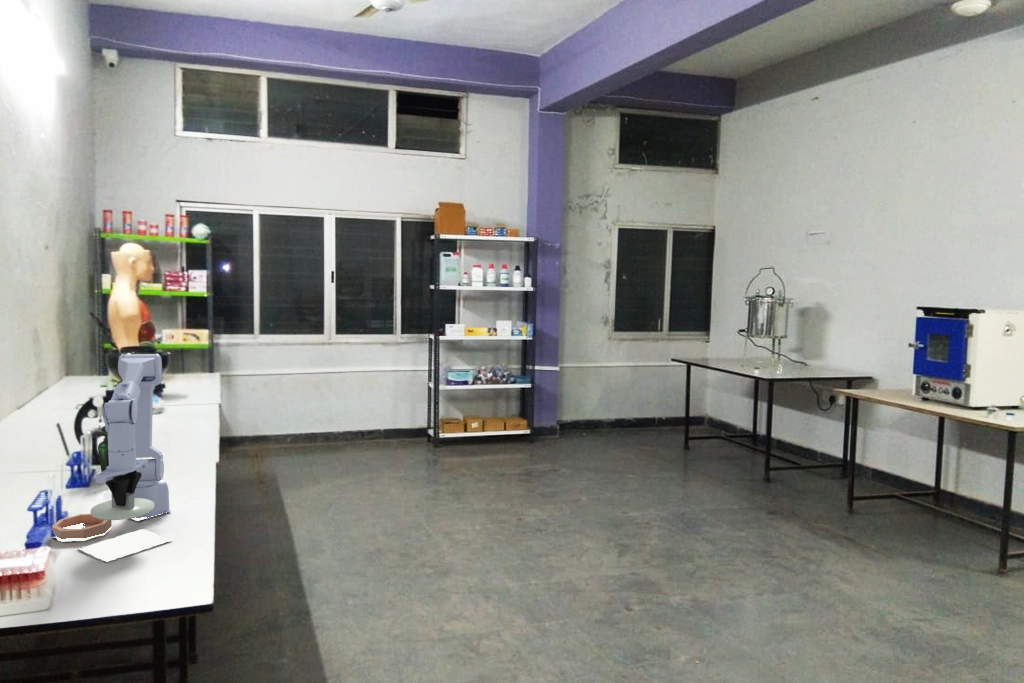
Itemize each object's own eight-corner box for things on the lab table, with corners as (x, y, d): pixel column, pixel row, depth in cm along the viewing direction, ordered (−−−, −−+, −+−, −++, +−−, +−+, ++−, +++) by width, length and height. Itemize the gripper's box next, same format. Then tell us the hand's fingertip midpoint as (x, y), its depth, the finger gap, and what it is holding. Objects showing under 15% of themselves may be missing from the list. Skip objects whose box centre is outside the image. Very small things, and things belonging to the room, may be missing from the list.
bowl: (94, 521, 189) (94, 510, 188) (119, 531, 182) (118, 519, 182) (45, 535, 179) (44, 523, 178) (69, 546, 172) (68, 534, 172)
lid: (120, 497, 180) (120, 481, 180) (166, 504, 177) (166, 488, 177) (76, 515, 167) (76, 498, 167) (125, 523, 164) (125, 506, 164)
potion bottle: (101, 479, 224) (98, 423, 222) (96, 473, 231) (94, 418, 229) (130, 474, 230) (127, 420, 228) (124, 469, 236) (122, 415, 234)
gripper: (130, 440, 179) (132, 493, 180) (83, 455, 165) (86, 512, 166) (154, 443, 177) (156, 496, 178) (109, 458, 163) (111, 515, 164)
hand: (124, 504), depth 172 cm, fingers closed on lid, 2 cm apart
